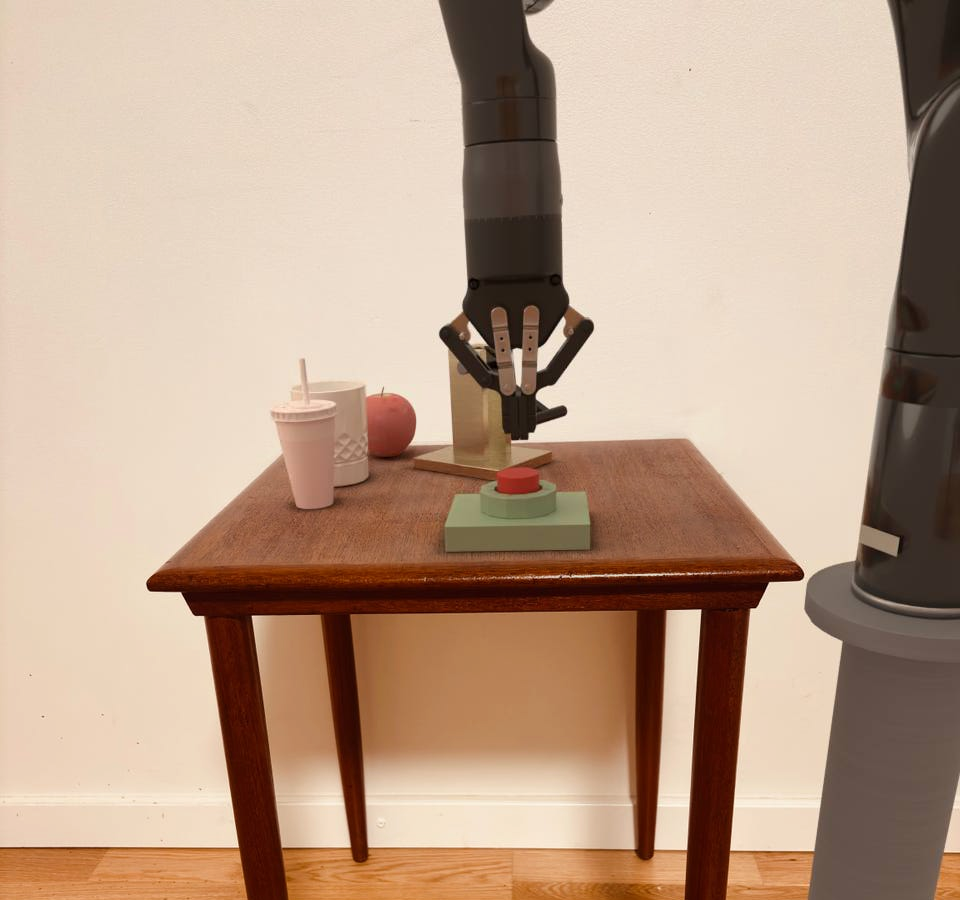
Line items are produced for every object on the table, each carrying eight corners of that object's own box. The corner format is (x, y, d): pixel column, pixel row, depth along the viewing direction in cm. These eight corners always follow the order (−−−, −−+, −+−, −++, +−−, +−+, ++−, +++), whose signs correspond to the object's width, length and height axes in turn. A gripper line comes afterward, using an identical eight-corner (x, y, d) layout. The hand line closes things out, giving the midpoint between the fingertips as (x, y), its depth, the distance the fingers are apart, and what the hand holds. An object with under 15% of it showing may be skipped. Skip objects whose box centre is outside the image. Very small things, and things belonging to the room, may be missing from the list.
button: (539, 486, 81) (539, 466, 80) (539, 497, 78) (538, 477, 77) (498, 487, 81) (497, 467, 80) (496, 498, 78) (495, 478, 77)
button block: (585, 514, 85) (586, 471, 83) (590, 549, 76) (590, 502, 74) (456, 516, 86) (454, 474, 84) (445, 552, 77) (442, 505, 75)
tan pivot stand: (551, 461, 104) (551, 343, 99) (498, 481, 97) (494, 355, 92) (469, 450, 111) (464, 339, 106) (413, 468, 104) (405, 350, 99)
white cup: (286, 486, 99) (274, 391, 95) (326, 468, 105) (316, 378, 101) (350, 491, 96) (340, 393, 92) (386, 472, 102) (379, 380, 98)
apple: (377, 447, 114) (371, 381, 111) (429, 451, 111) (424, 383, 108) (343, 460, 109) (336, 391, 105) (396, 465, 105) (391, 393, 102)
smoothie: (313, 516, 88) (295, 364, 82) (268, 507, 91) (248, 361, 86) (360, 500, 92) (346, 355, 87) (316, 492, 96) (299, 352, 90)
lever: (562, 423, 99) (571, 404, 97) (530, 433, 95) (539, 414, 93) (483, 363, 103) (490, 344, 101) (448, 370, 98) (455, 350, 97)
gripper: (420, 217, 68) (437, 451, 75) (601, 206, 66) (601, 445, 74) (432, 217, 74) (447, 432, 82) (597, 207, 73) (597, 426, 80)
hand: (520, 438), depth 78 cm, fingers closed
